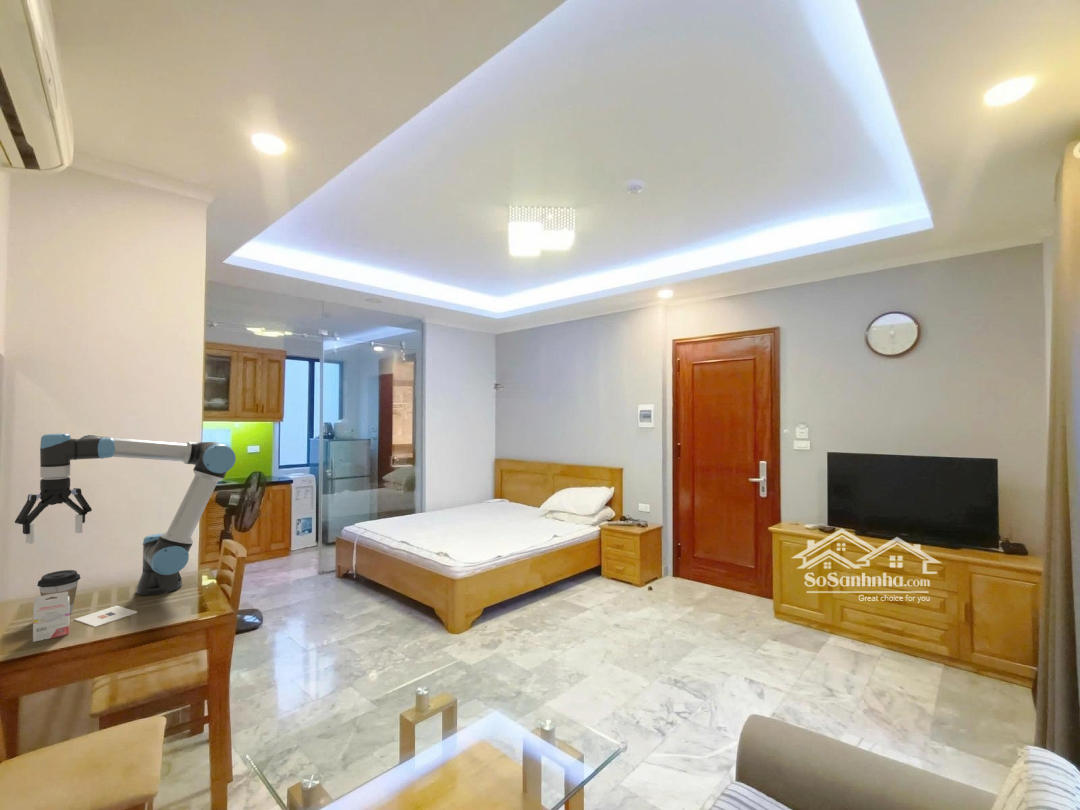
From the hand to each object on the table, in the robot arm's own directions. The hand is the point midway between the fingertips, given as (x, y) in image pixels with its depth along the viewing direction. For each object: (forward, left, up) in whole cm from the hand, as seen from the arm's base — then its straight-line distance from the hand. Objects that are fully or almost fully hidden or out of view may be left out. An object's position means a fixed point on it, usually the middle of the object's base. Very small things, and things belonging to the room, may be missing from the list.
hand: (55, 537), depth 172 cm
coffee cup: (-4, -6, -31) cm, 31 cm away
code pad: (-11, +10, -30) cm, 34 cm away
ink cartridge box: (+5, +11, -31) cm, 33 cm away
